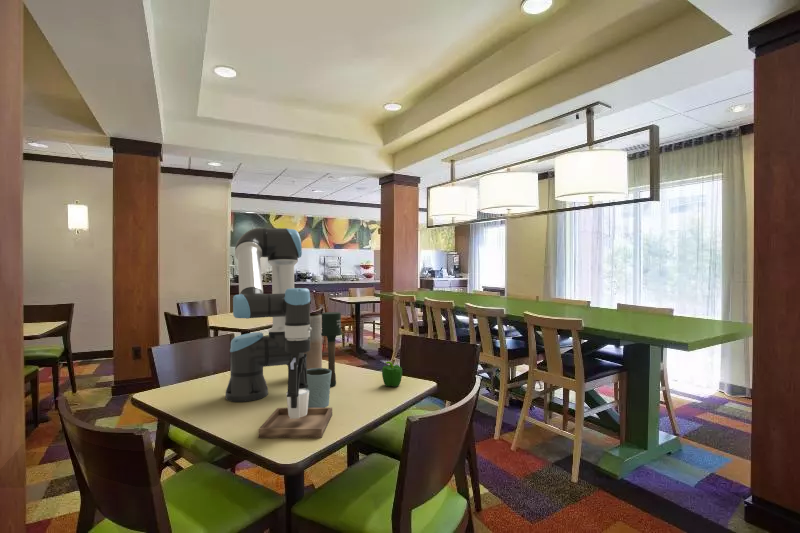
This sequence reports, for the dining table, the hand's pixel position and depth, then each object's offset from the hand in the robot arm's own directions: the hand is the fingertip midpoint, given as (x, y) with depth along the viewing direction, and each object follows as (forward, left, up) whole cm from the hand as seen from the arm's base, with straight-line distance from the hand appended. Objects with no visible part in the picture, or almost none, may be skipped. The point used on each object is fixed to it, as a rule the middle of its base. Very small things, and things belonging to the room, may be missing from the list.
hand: (298, 413), depth 125 cm
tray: (0, 0, -4) cm, 4 cm away
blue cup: (+2, +19, -4) cm, 20 cm away
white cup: (0, 0, -1) cm, 1 cm away
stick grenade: (+3, +43, -4) cm, 43 cm away
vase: (-9, +58, -4) cm, 59 cm away
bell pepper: (+28, +43, -4) cm, 52 cm away
